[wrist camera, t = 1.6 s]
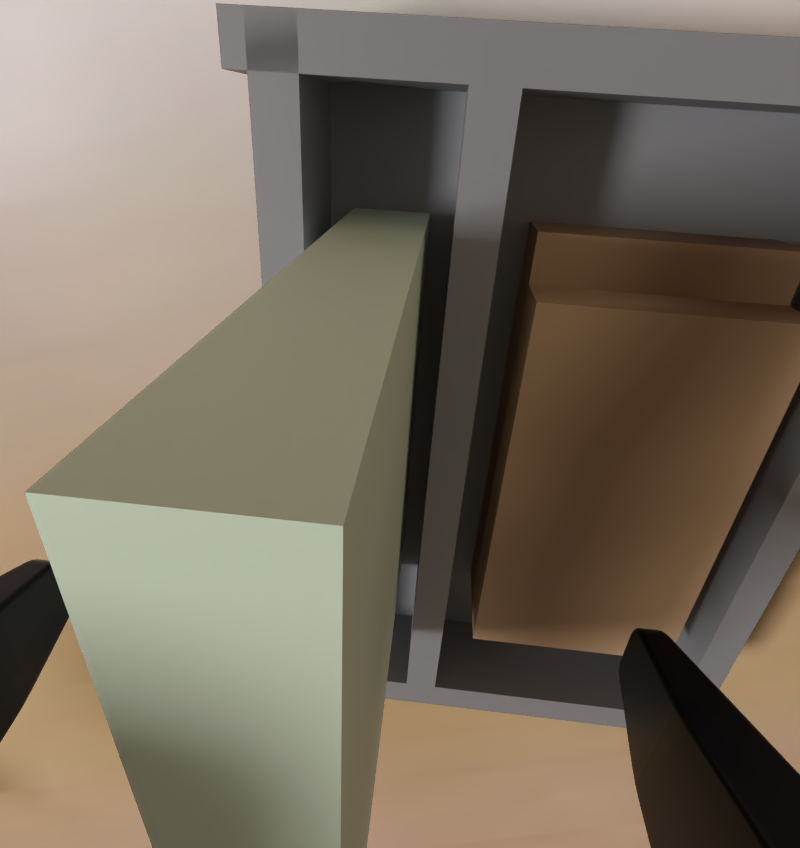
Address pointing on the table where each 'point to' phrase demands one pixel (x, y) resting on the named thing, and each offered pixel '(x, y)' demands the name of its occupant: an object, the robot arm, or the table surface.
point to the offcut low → (642, 282)
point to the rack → (503, 262)
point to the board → (254, 550)
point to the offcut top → (625, 460)
